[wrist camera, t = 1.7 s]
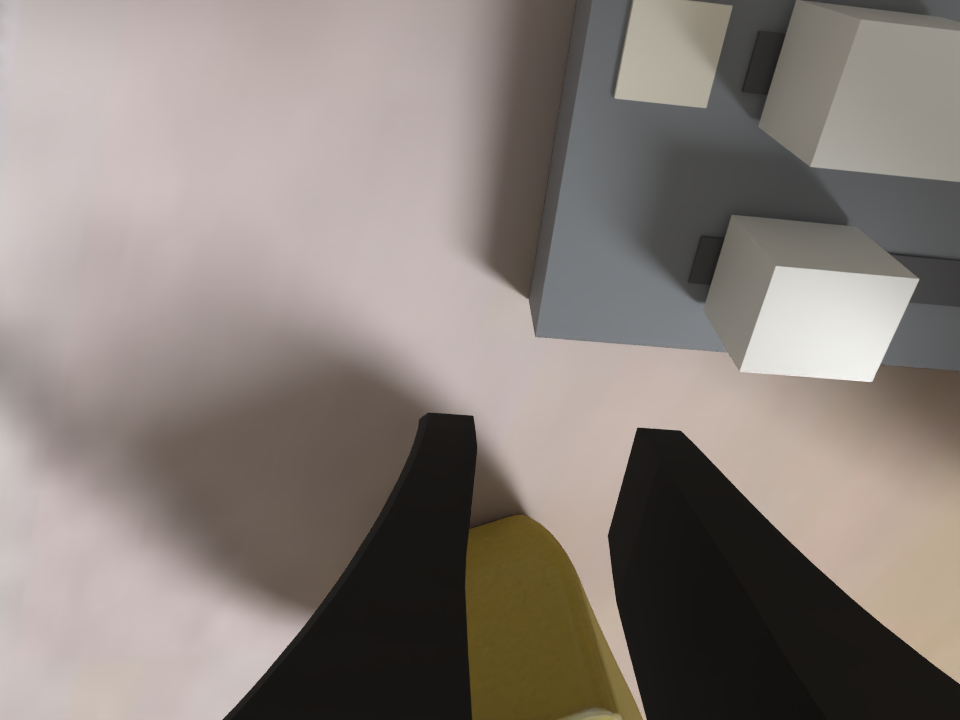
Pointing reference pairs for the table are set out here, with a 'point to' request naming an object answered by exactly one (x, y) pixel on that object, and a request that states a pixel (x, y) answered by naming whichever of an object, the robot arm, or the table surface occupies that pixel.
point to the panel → (709, 179)
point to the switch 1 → (868, 91)
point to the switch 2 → (806, 298)
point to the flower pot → (535, 632)
